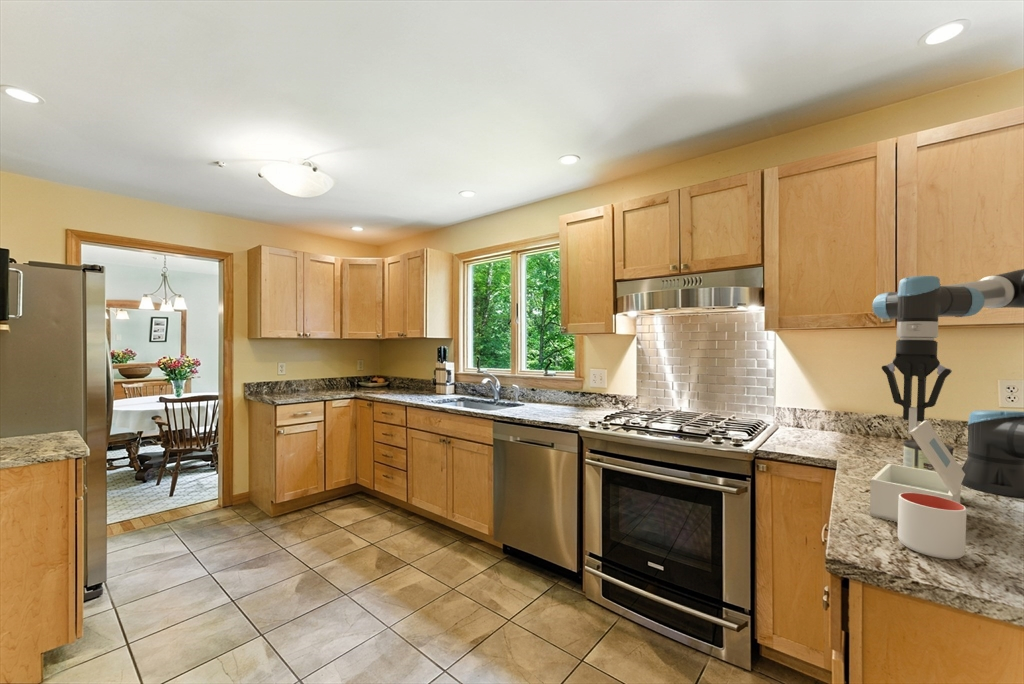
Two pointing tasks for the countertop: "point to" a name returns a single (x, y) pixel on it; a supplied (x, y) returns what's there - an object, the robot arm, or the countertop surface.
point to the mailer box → (903, 488)
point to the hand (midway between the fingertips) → (913, 433)
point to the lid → (938, 456)
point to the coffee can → (918, 456)
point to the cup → (932, 525)
